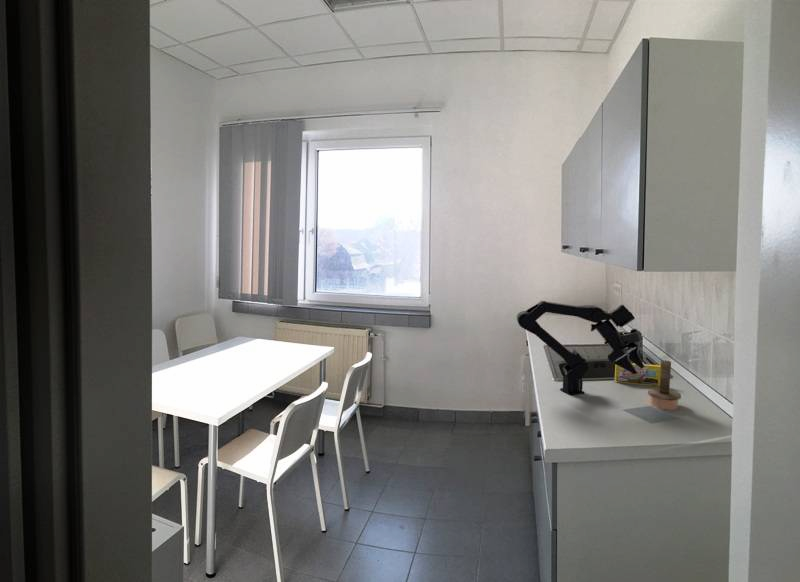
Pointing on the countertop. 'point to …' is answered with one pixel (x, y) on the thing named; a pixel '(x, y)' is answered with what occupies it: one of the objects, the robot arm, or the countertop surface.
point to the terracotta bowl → (664, 403)
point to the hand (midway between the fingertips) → (639, 370)
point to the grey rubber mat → (651, 414)
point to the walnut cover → (664, 384)
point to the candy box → (639, 375)
